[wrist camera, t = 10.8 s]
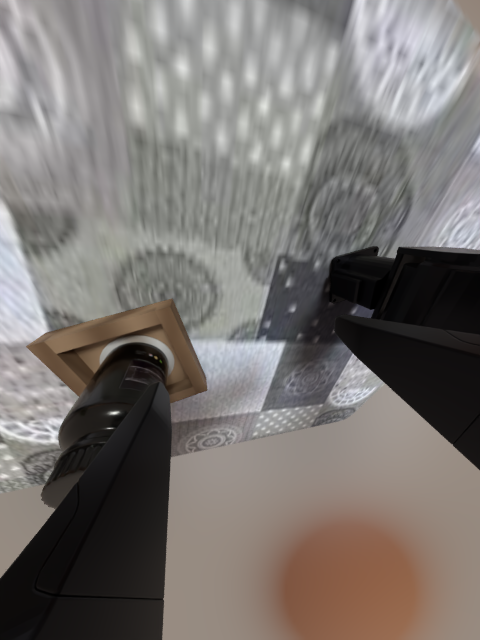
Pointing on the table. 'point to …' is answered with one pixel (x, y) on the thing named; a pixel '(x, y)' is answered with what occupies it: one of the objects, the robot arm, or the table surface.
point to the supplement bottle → (102, 412)
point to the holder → (112, 331)
